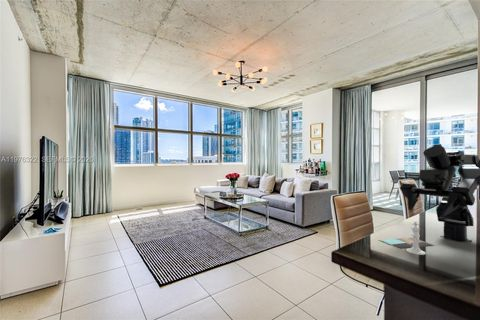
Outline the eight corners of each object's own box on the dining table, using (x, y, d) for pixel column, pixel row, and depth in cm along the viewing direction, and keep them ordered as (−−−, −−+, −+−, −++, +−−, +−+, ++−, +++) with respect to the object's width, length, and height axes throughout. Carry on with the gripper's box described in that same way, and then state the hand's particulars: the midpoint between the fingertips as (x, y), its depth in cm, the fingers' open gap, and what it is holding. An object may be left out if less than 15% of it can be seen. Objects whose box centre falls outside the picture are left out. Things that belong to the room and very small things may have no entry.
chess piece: (430, 257, 67) (429, 223, 67) (411, 256, 68) (410, 223, 68) (420, 251, 72) (419, 219, 72) (402, 250, 73) (402, 219, 73)
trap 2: (424, 242, 78) (424, 242, 78) (433, 245, 75) (433, 244, 75) (410, 243, 77) (410, 243, 77) (418, 246, 74) (418, 246, 74)
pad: (394, 239, 82) (394, 238, 82) (406, 243, 77) (406, 242, 77) (379, 240, 80) (379, 239, 80) (390, 244, 76) (390, 244, 76)
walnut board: (412, 239, 83) (411, 237, 83) (436, 247, 75) (436, 245, 75) (377, 241, 80) (377, 240, 80) (399, 250, 72) (399, 248, 72)
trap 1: (407, 244, 76) (407, 243, 76) (415, 247, 74) (415, 246, 74) (392, 245, 75) (392, 244, 75) (400, 248, 72) (400, 247, 72)
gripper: (402, 161, 84) (385, 192, 79) (470, 160, 67) (454, 199, 62) (413, 182, 87) (398, 213, 82) (481, 186, 71) (467, 225, 65)
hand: (425, 212), depth 73 cm, fingers open, 9 cm apart
